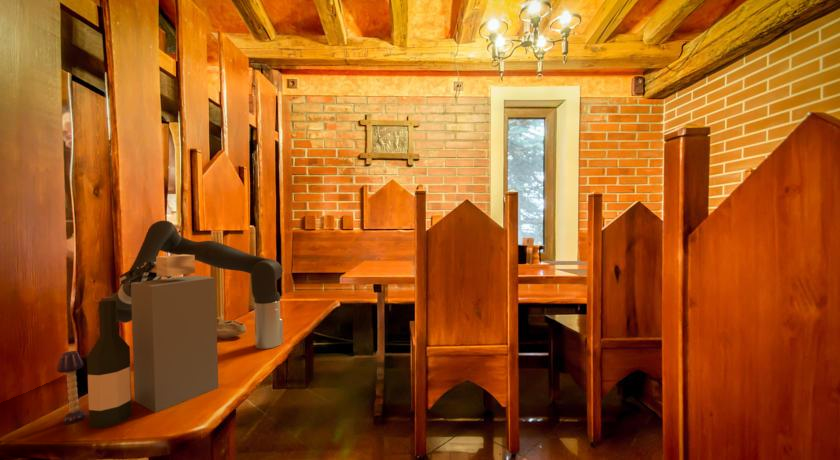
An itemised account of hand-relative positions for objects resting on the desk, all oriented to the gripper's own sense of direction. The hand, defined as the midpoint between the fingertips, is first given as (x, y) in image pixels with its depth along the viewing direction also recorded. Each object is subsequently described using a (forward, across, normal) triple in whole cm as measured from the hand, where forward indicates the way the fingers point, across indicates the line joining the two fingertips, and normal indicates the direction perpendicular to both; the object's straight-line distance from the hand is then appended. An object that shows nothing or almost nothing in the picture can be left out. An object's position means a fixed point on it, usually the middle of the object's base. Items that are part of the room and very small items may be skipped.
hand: (158, 262), depth 106 cm
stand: (-11, 0, +36) cm, 38 cm away
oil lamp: (-44, +38, +18) cm, 60 cm away
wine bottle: (-11, -15, +36) cm, 41 cm away
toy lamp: (-18, -20, +32) cm, 42 cm away
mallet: (+2, 0, +4) cm, 4 cm away
